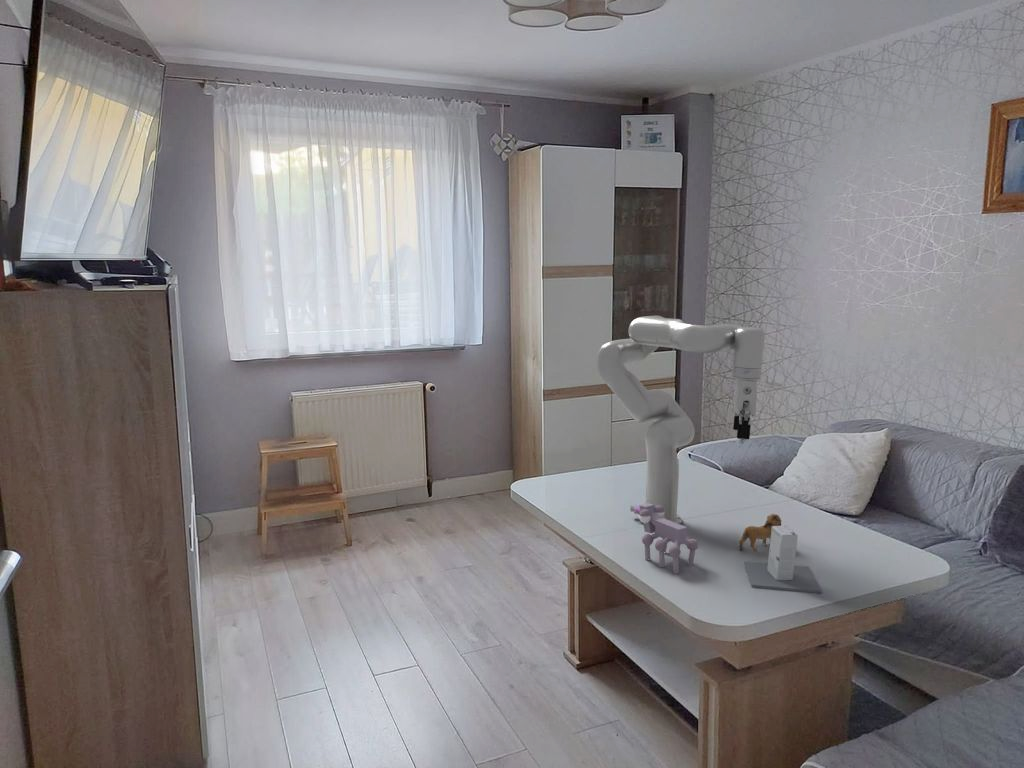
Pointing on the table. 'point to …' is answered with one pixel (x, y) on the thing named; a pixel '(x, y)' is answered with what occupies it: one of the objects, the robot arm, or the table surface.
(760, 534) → the lion figurine
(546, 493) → the table surface
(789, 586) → the mat
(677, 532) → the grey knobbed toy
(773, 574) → the skincare box
